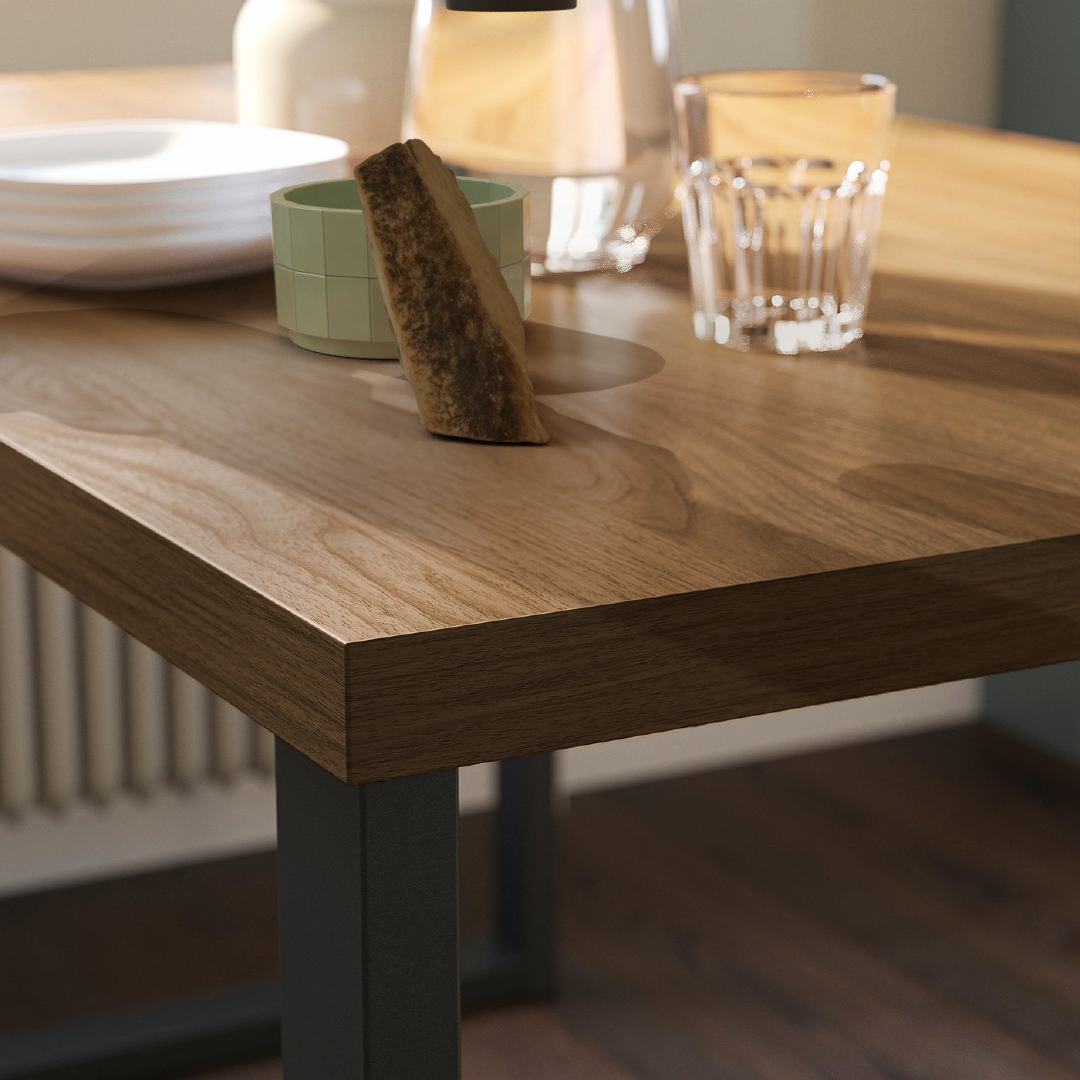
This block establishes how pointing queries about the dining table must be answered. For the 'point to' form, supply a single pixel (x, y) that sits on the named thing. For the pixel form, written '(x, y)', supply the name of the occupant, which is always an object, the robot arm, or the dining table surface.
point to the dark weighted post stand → (510, 5)
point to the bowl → (371, 261)
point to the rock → (446, 300)
